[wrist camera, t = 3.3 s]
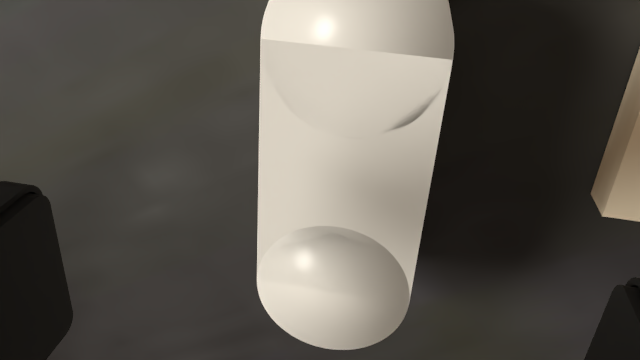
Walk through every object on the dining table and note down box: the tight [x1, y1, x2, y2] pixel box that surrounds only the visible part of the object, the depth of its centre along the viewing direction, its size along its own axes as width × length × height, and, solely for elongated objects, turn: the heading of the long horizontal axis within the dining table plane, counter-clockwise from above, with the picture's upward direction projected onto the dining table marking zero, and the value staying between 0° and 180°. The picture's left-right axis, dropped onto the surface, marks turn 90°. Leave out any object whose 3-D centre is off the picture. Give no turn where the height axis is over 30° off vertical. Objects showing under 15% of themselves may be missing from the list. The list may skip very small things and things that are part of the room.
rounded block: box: [257, 0, 454, 350], centre depth 17 cm, size 11×4×6 cm, turn 177°
